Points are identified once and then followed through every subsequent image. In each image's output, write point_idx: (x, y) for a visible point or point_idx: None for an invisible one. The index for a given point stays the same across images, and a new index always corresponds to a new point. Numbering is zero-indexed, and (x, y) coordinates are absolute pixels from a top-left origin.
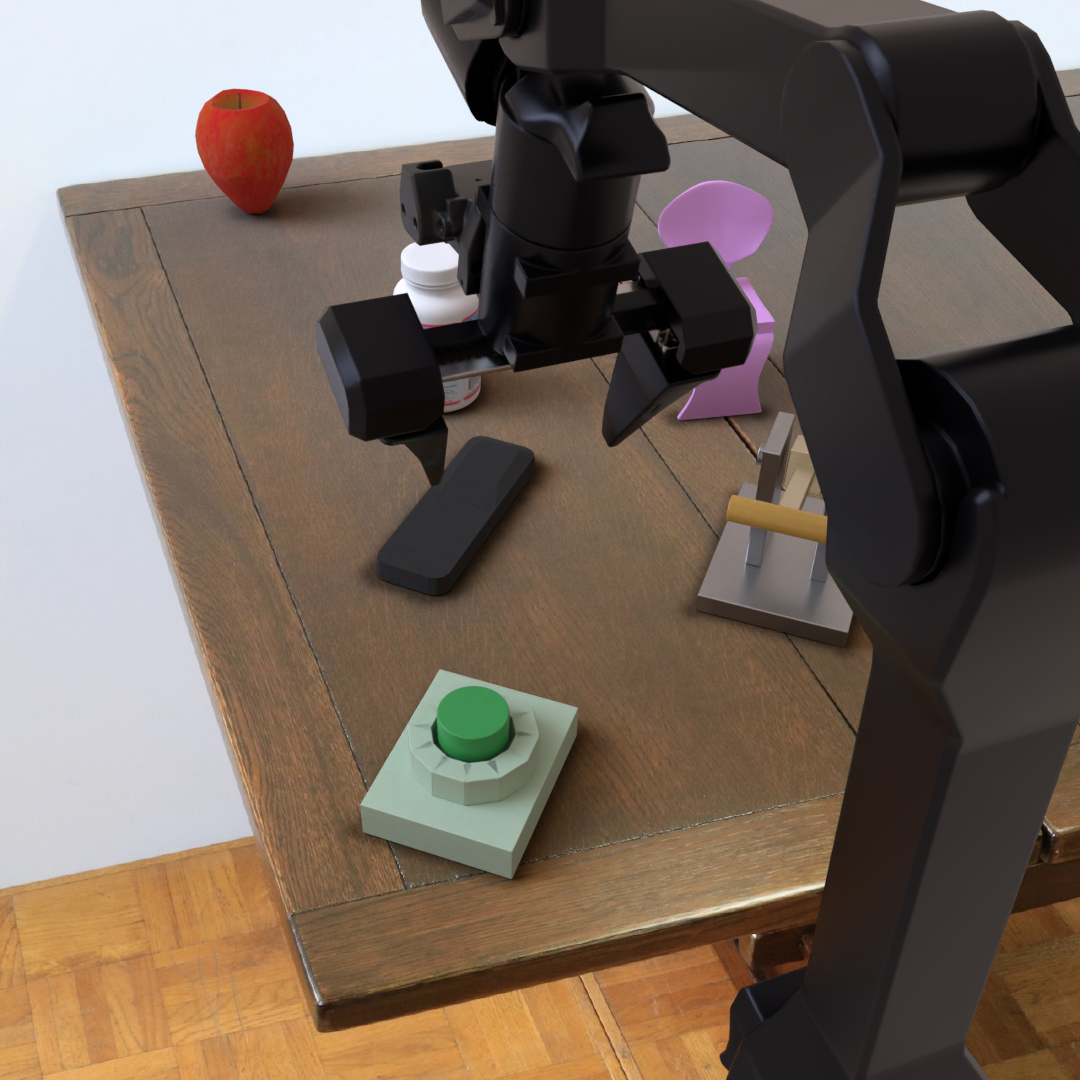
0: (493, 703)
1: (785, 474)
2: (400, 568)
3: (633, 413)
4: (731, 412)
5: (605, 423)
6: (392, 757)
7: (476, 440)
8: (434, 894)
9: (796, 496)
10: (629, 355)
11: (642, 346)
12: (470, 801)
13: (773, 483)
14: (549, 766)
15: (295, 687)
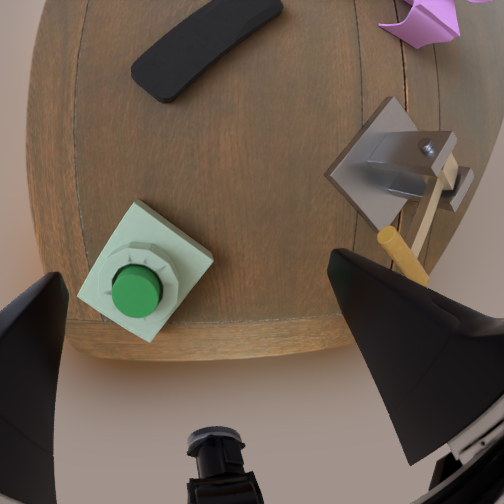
0: (148, 294)
1: None
2: (142, 82)
3: (372, 366)
4: (405, 40)
5: (343, 270)
6: (94, 269)
7: None
8: (115, 327)
9: (424, 233)
10: (443, 373)
11: (456, 419)
12: None
13: (417, 173)
14: (182, 299)
15: (59, 169)
